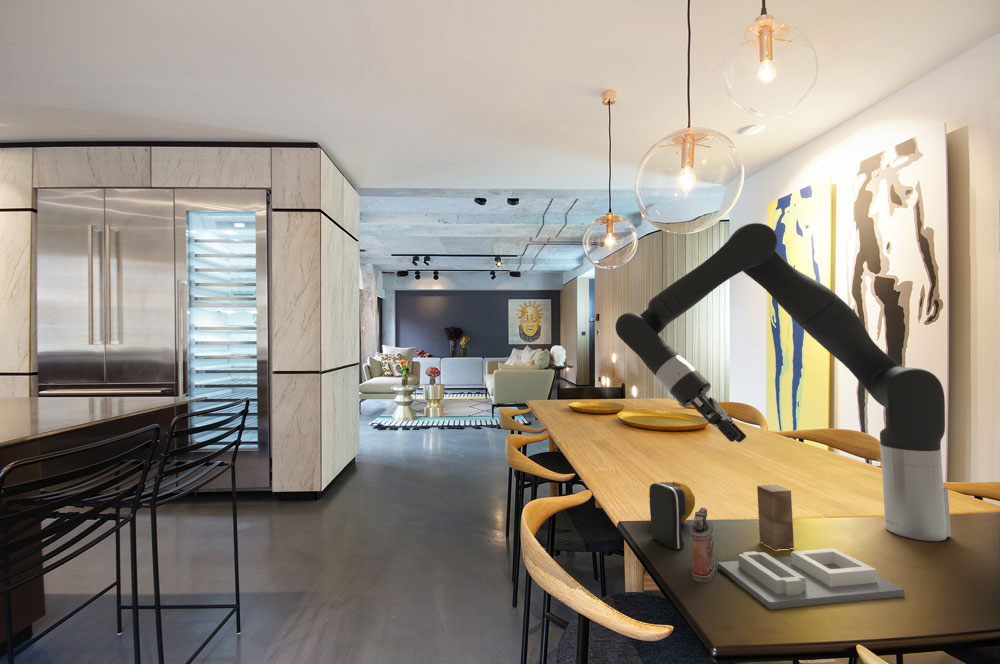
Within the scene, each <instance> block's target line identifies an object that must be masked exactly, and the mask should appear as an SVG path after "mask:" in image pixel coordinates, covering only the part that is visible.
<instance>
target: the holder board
mask: <svg viewBox="0 0 1000 664" xmlns="http://www.w3.org/2000/svg"><path fill="white" fill-rule="evenodd" d="M737 557H738V558H737V560H732V561H719V562H717V569H718V568H719V569H718V570H720V569H721V570H722V571H723V572H725V573H726V574H727V575H728V576H729V577H728V576H727V575H726V574H725V573H724V574H725V575H726V576H727V577H728V578H730V579H731V580H732V581H734V582H735V583H736V584H737V585H738V586H740V587H741V588H742V589H743V590H745V591H746V592H747V593H749V594H750V595H751V596H753V597H754V598H755V599H756V600H758V602H760V603H761V604H763V606H766V607H767V609H769V610H774V609H775V610H777V609H787V608H797V607H799V608H800V607H808V606H809V607H810V606H816V605H817V606H819V605H829V604H830V605H831V604H837V603H839V604H840V603H849V602H851V603H852V602H860V601H861V602H862V601H869V600H870V601H871V600H880V599H891V598H899V597H900V598H902V597H905V589H904V588H902V587H900V586H898V585H896V584H895V583H893V582H890V581H888V580H887V579H884V578H882V577H880V576H879V575H877V574H878V573H877V569H876V568H874V567H872V566H871V565H868V564H866V563H865V562H862V561H860V560H858V559H856V558H854V557H852V556H850V555H848V554H847V553H844V552H842V551H841V550H838V549H836V548H834V547H833V548H822V549H821V548H820V549H808V550H807V549H806V550H797V551H794V550H792V551H791V556H781V557H780V556H779V557H773V556H771V555H769V554H768V553H766V552H765V551H764V552H763V551H762V552H761V551H760V552H757V551H756V550H755V551H743V552H742V553H738V554H737ZM721 570H720V571H721ZM722 571H721V572H722ZM723 572H722V573H723Z"/></svg>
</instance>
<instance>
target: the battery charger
mask: <svg viewBox="0 0 1000 664" xmlns="http://www.w3.org/2000/svg"><path fill="white" fill-rule="evenodd" d="M665 482H666V481H661V482H653V483H652V484H651V485H650V486H649V494H648V495H649V510H650V511H649V514H650V529H651V532H650V533H651V535H650V537H651V538H652V539H653V540H655V541H656V542H658V543H661V544H662V545H665V546H666V547H669V548H670V549H673V550H679V549H681V548H684V547H685V542H684V540H683V537H682V523H681V520H682V516H683V515H686V500H685V494H684V491H683V490H682V489H681V488H679V487H677V486H675V485H672V484H669V483H665Z"/></svg>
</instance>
